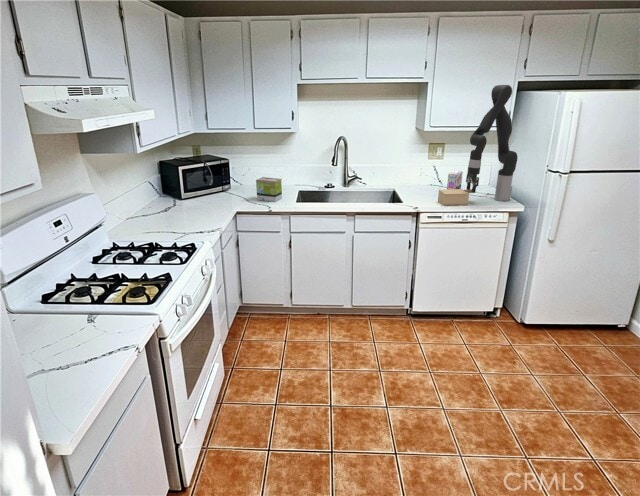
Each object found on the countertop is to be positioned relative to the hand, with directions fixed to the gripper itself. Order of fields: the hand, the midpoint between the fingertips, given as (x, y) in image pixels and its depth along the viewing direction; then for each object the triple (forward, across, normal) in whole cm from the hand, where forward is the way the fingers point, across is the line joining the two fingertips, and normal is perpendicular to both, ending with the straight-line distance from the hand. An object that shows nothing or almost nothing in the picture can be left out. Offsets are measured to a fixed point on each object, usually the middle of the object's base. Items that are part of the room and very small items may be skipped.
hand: (470, 190), depth 273 cm
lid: (+1, 0, +9) cm, 9 cm away
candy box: (+8, +22, +3) cm, 24 cm away
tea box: (+11, +21, +134) cm, 137 cm away
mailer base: (+8, 0, +12) cm, 14 cm away
